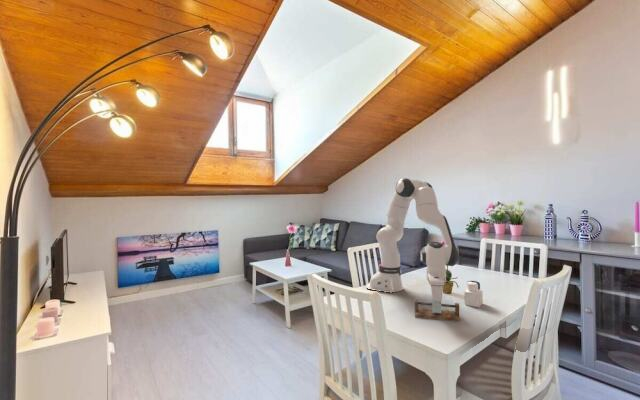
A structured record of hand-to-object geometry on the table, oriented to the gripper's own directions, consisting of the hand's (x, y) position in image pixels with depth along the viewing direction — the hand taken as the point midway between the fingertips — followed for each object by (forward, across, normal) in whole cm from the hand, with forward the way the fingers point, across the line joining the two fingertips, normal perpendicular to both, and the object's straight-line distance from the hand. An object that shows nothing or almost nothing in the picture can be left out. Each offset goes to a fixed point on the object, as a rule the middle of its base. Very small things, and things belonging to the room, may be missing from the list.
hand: (436, 304), depth 150 cm
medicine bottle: (+6, -20, +19) cm, 28 cm away
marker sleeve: (+3, 0, 0) cm, 3 cm away
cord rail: (+6, 0, 0) cm, 6 cm away
